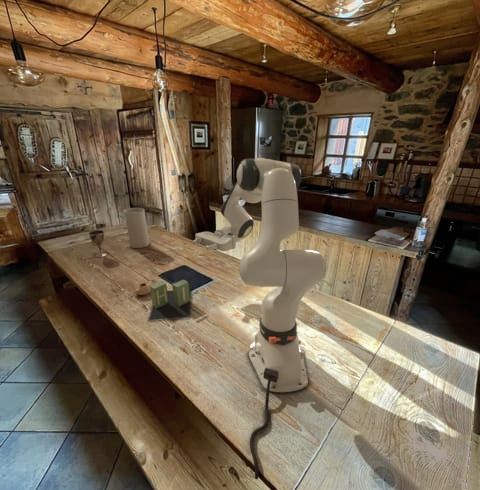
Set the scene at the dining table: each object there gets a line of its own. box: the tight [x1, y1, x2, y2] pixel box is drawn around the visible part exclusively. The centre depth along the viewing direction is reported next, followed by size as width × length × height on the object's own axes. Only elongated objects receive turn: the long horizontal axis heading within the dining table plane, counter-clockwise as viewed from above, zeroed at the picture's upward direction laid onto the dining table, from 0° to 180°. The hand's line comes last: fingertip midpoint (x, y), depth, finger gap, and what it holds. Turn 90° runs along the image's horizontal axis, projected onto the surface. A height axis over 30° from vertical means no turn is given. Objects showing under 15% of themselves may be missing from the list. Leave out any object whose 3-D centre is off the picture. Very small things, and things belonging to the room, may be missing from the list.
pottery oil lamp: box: [132, 279, 158, 296], centre depth 128 cm, size 9×12×7 cm
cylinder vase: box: [123, 207, 150, 249], centre depth 180 cm, size 12×12×25 cm
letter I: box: [171, 279, 191, 306], centre depth 118 cm, size 4×6×10 cm, turn 137°
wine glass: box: [88, 230, 108, 258], centre depth 167 cm, size 8×8×15 cm
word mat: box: [149, 289, 192, 321], centre depth 120 cm, size 22×16×1 cm
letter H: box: [150, 280, 169, 308], centre depth 117 cm, size 4×6×10 cm, turn 137°
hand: (200, 245), depth 118 cm, fingers open, 8 cm apart
